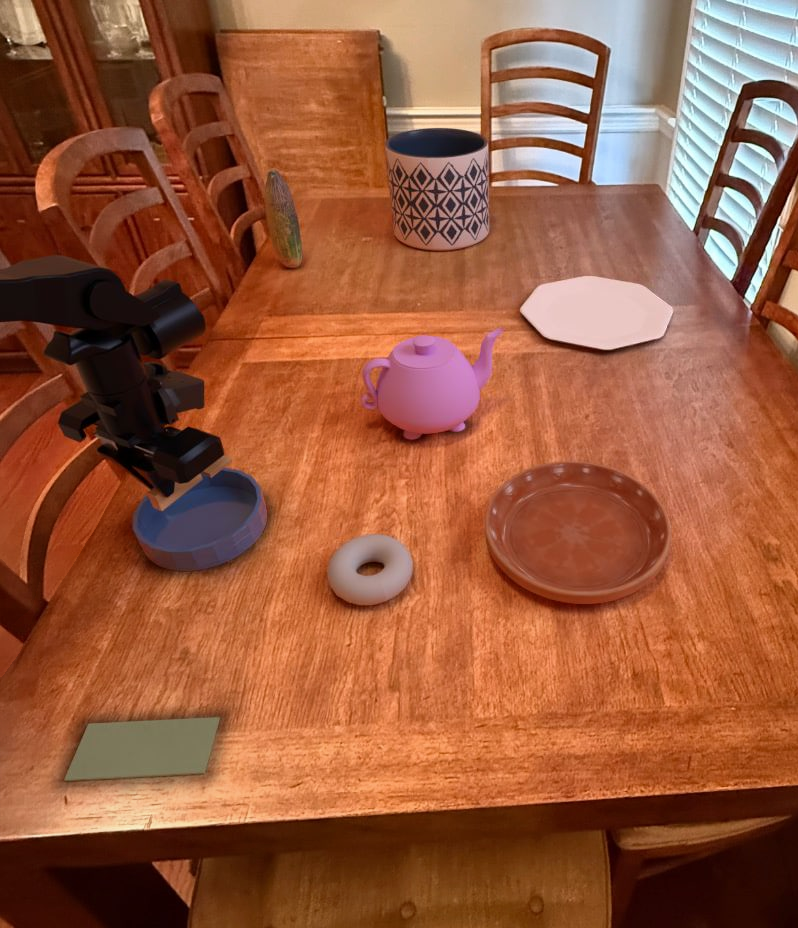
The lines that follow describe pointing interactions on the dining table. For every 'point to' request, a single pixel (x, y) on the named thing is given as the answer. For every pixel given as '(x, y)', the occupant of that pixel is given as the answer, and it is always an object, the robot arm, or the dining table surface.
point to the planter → (439, 187)
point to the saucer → (577, 532)
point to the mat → (144, 749)
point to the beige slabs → (186, 485)
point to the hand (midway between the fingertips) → (164, 492)
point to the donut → (373, 586)
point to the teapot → (428, 384)
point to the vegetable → (282, 220)
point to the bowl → (203, 523)
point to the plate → (597, 313)
